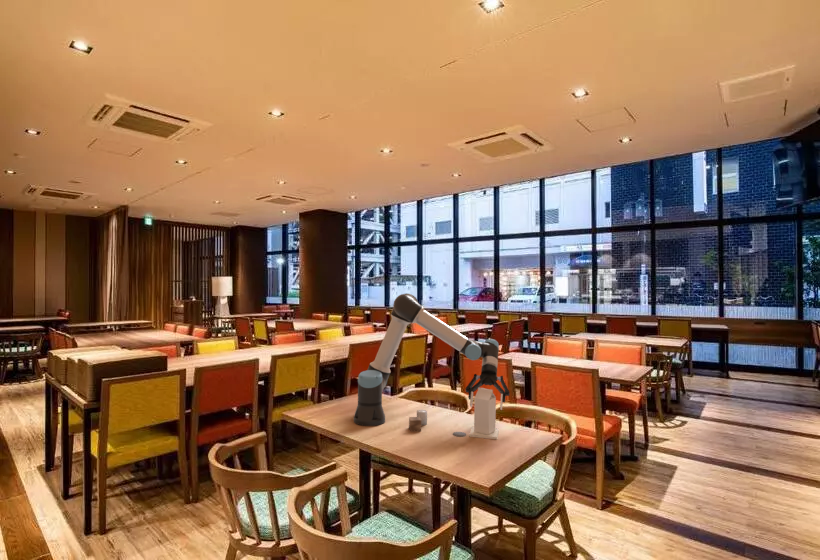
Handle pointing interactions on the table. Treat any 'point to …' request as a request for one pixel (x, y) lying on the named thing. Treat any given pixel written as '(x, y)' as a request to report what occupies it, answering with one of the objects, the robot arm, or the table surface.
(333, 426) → the table surface
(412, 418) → the walnut block
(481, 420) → the milk carton
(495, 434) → the plate
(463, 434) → the slate coaster
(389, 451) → the table surface
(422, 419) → the white small cylinder
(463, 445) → the table surface
